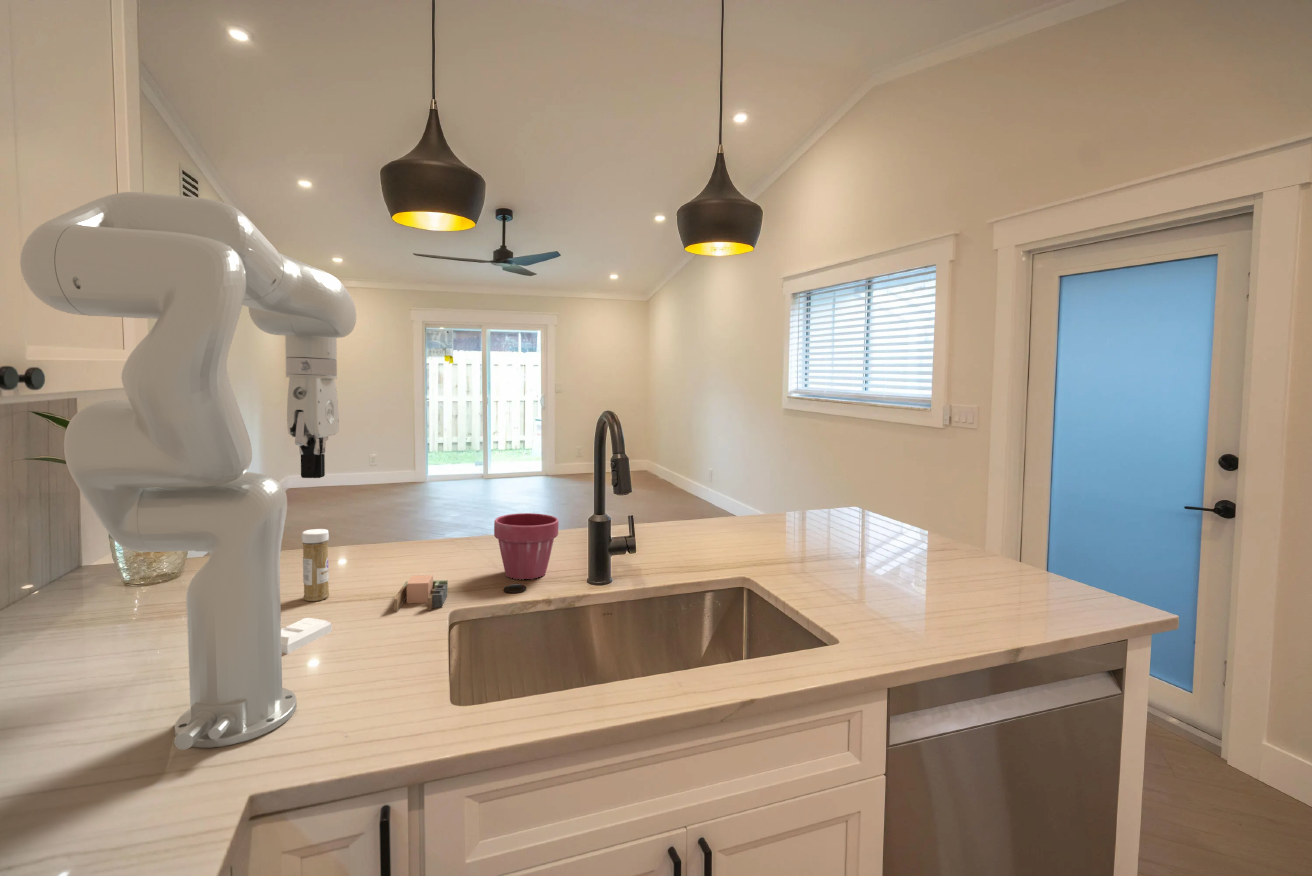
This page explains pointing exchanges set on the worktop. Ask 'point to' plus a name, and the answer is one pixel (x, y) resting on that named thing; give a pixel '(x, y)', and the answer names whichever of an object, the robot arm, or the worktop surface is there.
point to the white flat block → (303, 633)
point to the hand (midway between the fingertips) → (313, 477)
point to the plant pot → (525, 543)
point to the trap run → (433, 599)
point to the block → (419, 588)
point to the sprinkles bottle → (315, 564)
